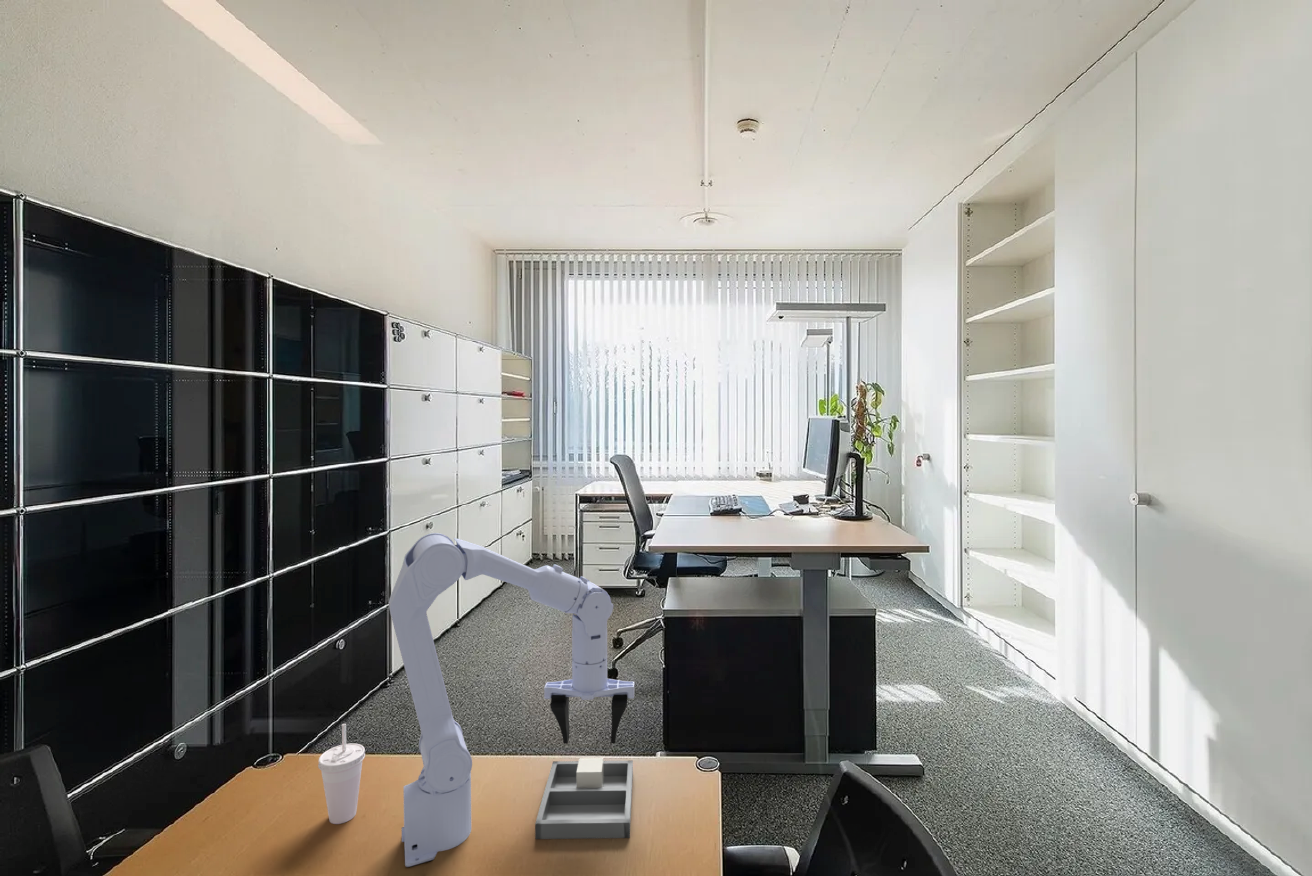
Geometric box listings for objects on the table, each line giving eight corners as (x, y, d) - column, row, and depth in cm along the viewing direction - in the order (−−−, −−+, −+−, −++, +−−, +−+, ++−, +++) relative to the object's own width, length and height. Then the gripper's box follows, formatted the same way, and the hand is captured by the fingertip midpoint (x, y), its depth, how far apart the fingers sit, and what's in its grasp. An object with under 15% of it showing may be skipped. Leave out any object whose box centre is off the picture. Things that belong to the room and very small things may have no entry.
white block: (576, 797, 93) (576, 772, 93) (579, 782, 97) (579, 758, 97) (601, 796, 93) (601, 772, 93) (603, 781, 97) (603, 757, 97)
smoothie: (374, 803, 93) (373, 717, 92) (349, 831, 86) (348, 738, 86) (336, 801, 93) (335, 715, 93) (309, 828, 87) (307, 736, 87)
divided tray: (535, 844, 83) (535, 823, 83) (553, 778, 99) (553, 761, 99) (629, 843, 84) (629, 822, 84) (632, 777, 99) (632, 760, 99)
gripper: (540, 668, 91) (540, 754, 91) (633, 667, 91) (633, 753, 91) (548, 650, 98) (548, 730, 98) (634, 650, 98) (634, 730, 98)
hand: (589, 740), depth 95 cm, fingers open, 7 cm apart
